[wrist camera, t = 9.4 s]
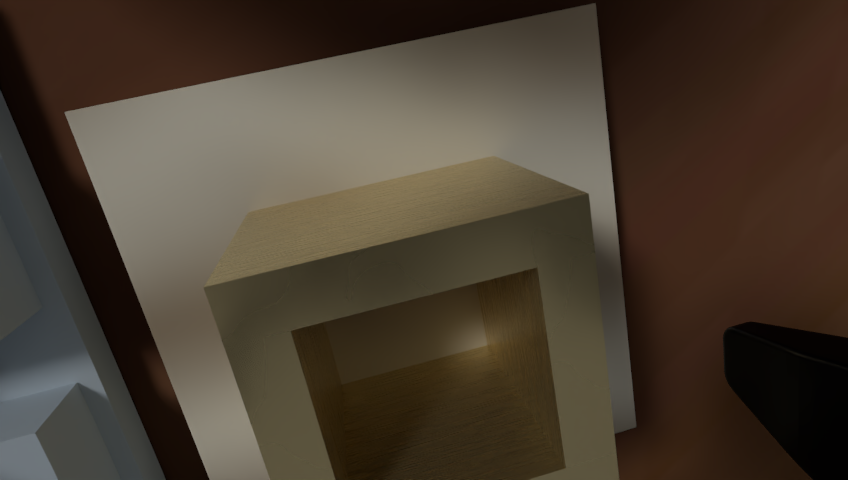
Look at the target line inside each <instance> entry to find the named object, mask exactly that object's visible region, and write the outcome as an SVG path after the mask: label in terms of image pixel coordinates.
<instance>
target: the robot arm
mask: <svg viewBox="0 0 848 480" xmlns="http://www.w3.org/2000/svg"><path fill="white" fill-rule="evenodd" d="M723 347H724V372H725V377H726V380H727V382H728V384H729V385H730V387H731V388H732V390H733V391H734V392H735V393H736V394H737V395H738V397H739V398H740V399H741V400H742V401H743V402H744V403H745V405H746V406H747V407H748V408H749V409H750V410H751V412H752V413H753V414H754V415H755V416H756V417H757V418H758V420H759V421H760V422H761V423H762V424H763V425H764V427H765V428H766V429H767V430H768V431H769V432H770V433H771V435H772V436H773V437H774V438H775V439H776V440H777V442H778V443H779V444H780V445H781V446H782V447H783V449H784V450H785V451H786V452H787V453H788V454H789V455H790V456H791V457H792V458H793V460H794V461H795V462H796V463H797V464H798V465H799V466H800V467H801V468H802V469H803V470H804V471H805V472H806V473H807V474H808V475H809V476H810V477H811V478H812V479H813V480H848V338H846V337H840V336H834V335H828V334H822V333H816V332H810V331H804V330H798V329H792V328H786V327H781V326H775V325H769V324H763V323H757V322H746V323H743V324H739V325H736V326H732V327H729V328H728V329H726V330H725V332H724V335H723Z"/></svg>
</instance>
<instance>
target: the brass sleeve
mask: <svg viewBox="0 0 848 480" xmlns="http://www.w3.org/2000/svg"><path fill="white" fill-rule="evenodd" d="M474 283H476V286H477V291H478V297H479V303H480V308H481V314H482V319H483V325H484V330H485V336H486V341H487V345H486V346H482V347H478V348H475V349H471V350H467V351H464V352H460V353H456V354H452V355H449V356H445V357H441V358H438V359H434V360H430V361H427V362H423V363H419V364H416V365H412V366H408V367H405V368H401V369H397V370H393V371H390V372H386V373H382V374H379V375H375V376H371V377H368V378H364V379H360V380H357V381H353V382H349V383H346V384H342V383H341V380H340V376H339V372H338V369H337V365H336V362H335V358H334V354H333V351H332V347H331V344H330V340H329V337H328V333H327V329H326V326H325V322H327V321H330V320H334V319H338V318H342V317H346V316H350V315H354V314H358V313H362V312H365V311H369V310H373V309H377V308H381V307H385V306H389V305H393V304H397V303H401V302H404V301H408V300H412V299H416V298H420V297H424V296H428V295H432V294H436V293H439V292H443V291H447V290H451V289H455V288H459V287H463V286H467V285H471V284H474ZM203 288H204V290H205V293H206V296H207V299H208V302H209V305H210V308H211V311H212V314H213V316H214V319H215V322H216V325H217V328H218V331H219V334H220V337H221V339H222V342H223V345H224V348H225V351H226V354H227V357H228V360H229V363H230V365H231V368H232V371H233V374H234V377H235V380H236V383H237V386H238V388H239V391H240V394H241V397H242V400H243V403H244V406H245V409H246V412H247V414H248V417H249V420H250V423H251V426H252V429H253V432H254V435H255V437H256V440H257V443H258V446H259V449H260V452H261V455H262V458H263V461H264V463H265V466H266V469H267V472H268V475H269V478H270V480H619V473H618V464H617V454H616V445H615V435H614V426H613V416H612V407H611V398H610V388H609V379H608V369H607V360H606V350H605V341H604V332H603V322H602V313H601V303H600V294H599V284H598V275H597V266H596V256H595V247H594V237H593V228H592V218H591V209H590V199H589V193H586V192H584V191H581V190H579V189H576V188H574V187H571V186H569V185H566V184H564V183H561V182H559V181H556V180H554V179H551V178H549V177H546V176H544V175H541V174H538V173H536V172H533V171H531V170H528V169H526V168H523V167H521V166H518V165H516V164H513V163H511V162H508V161H506V160H503V159H501V158H498V157H496V156H490V157H486V158H481V159H477V160H473V161H468V162H464V163H460V164H455V165H451V166H447V167H442V168H438V169H433V170H429V171H425V172H420V173H416V174H412V175H407V176H403V177H399V178H394V179H390V180H386V181H381V182H377V183H372V184H368V185H364V186H359V187H355V188H351V189H346V190H342V191H338V192H333V193H329V194H325V195H320V196H316V197H311V198H307V199H303V200H298V201H294V202H290V203H285V204H281V205H277V206H272V207H268V208H264V209H259V210H255V211H251V212H248V213H247V215H246V217H245V218H244V220H243V222H242V223H241V225H240V227H239V228H238V230H237V232H236V233H235V235H234V237H233V238H232V240H231V242H230V244H229V245H228V247H227V249H226V250H225V252H224V254H223V255H222V257H221V259H220V260H219V262H218V264H217V265H216V267H215V269H214V270H213V272H212V274H211V275H210V277H209V279H208V280H207V282H206V284H205V286H204V287H203Z"/></svg>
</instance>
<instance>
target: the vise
mask: <svg viewBox="0 0 848 480" xmlns="http://www.w3.org/2000/svg"><path fill="white" fill-rule="evenodd" d="M0 480H166V478H165V476H164V474H163V471H162V469H161V467H160V464H159V462H158V460H157V457H156V455H155V453H154V450H153V448H152V446H151V443H150V441H149V438H148V436H147V434H146V431H145V429H144V427H143V424H142V422H141V420H140V417H139V415H138V413H137V410H136V408H135V406H134V403H133V401H132V398H131V396H130V394H129V391H128V389H127V387H126V384H125V382H124V380H123V377H122V375H121V373H120V370H119V368H118V366H117V363H116V361H115V359H114V356H113V354H112V351H111V349H110V347H109V344H108V342H107V340H106V337H105V335H104V333H103V330H102V328H101V326H100V323H99V321H98V319H97V316H96V314H95V311H94V309H93V307H92V304H91V302H90V300H89V297H88V295H87V293H86V290H85V288H84V286H83V283H82V281H81V279H80V276H79V274H78V271H77V269H76V267H75V264H74V262H73V260H72V257H71V255H70V253H69V250H68V248H67V246H66V243H65V241H64V239H63V236H62V234H61V231H60V229H59V227H58V224H57V222H56V220H55V217H54V215H53V213H52V210H51V208H50V206H49V203H48V201H47V199H46V196H45V194H44V191H43V189H42V187H41V184H40V182H39V180H38V177H37V175H36V173H35V170H34V168H33V166H32V163H31V161H30V159H29V156H28V154H27V152H26V149H25V147H24V144H23V142H22V140H21V137H20V135H19V133H18V130H17V128H16V126H15V123H14V121H13V119H12V116H11V114H10V112H9V109H8V107H7V104H6V102H5V100H4V97H3V95H2V93H1V90H0Z"/></svg>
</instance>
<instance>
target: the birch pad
mask: <svg viewBox="0 0 848 480" xmlns="http://www.w3.org/2000/svg"><path fill="white" fill-rule="evenodd" d="M65 115H66V117H67V120H68V122H69V125H70V127H71V130H72V133H73V135H74V138H75V140H76V143H77V145H78V148H79V150H80V153H81V155H82V158H83V160H84V163H85V165H86V168H87V171H88V173H89V176H90V178H91V181H92V183H93V186H94V188H95V191H96V193H97V196H98V198H99V201H100V203H101V206H102V209H103V211H104V214H105V216H106V219H107V221H108V224H109V226H110V229H111V231H112V234H113V236H114V239H115V241H116V244H117V246H118V249H119V252H120V254H121V257H122V259H123V262H124V264H125V267H126V269H127V272H128V274H129V277H130V279H131V282H132V284H133V287H134V290H135V292H136V295H137V297H138V300H139V302H140V305H141V307H142V310H143V312H144V315H145V317H146V320H147V322H148V325H149V328H150V330H151V333H152V335H153V338H154V340H155V343H156V345H157V348H158V350H159V353H160V355H161V358H162V360H163V363H164V365H165V368H166V371H167V373H168V376H169V378H170V381H171V383H172V386H173V388H174V391H175V393H176V396H177V398H178V401H179V403H180V406H181V409H182V411H183V414H184V416H185V419H186V421H187V424H188V426H189V429H190V431H191V434H192V436H193V439H194V441H195V444H196V447H197V449H198V452H199V454H200V457H201V459H202V462H203V464H204V467H205V469H206V472H207V474H208V477H209V479H210V480H270V478H269V475H268V472H267V469H266V466H265V463H264V461H263V458H262V455H261V452H260V449H259V446H258V443H257V440H256V437H255V435H254V432H253V429H252V426H251V423H250V420H249V417H248V414H247V412H246V409H245V406H244V403H243V400H242V397H241V394H240V391H239V388H238V386H237V383H236V380H235V377H234V374H233V371H232V368H231V365H230V363H229V360H228V357H227V354H226V351H225V348H224V345H223V342H222V339H221V337H220V334H219V331H218V328H217V325H216V322H215V319H214V316H213V314H212V311H211V308H210V305H209V302H208V299H207V296H206V293H205V290H204V288H203V287H204V286H205V284H206V282H207V280H208V279H209V277H210V275H211V274H212V272H213V270H214V269H215V267H216V265H217V264H218V262H219V260H220V259H221V257H222V255H223V254H224V252H225V250H226V249H227V247H228V245H229V244H230V242H231V240H232V238H233V237H234V235H235V233H236V232H237V230H238V228H239V227H240V225H241V223H242V222H243V220H244V218H245V217H246V215H247V213H248V212H251V211H255V210H259V209H264V208H268V207H272V206H277V205H281V204H285V203H290V202H294V201H298V200H303V199H307V198H311V197H316V196H320V195H325V194H329V193H333V192H338V191H342V190H346V189H351V188H355V187H359V186H364V185H368V184H372V183H377V182H381V181H386V180H390V179H394V178H399V177H403V176H407V175H412V174H416V173H420V172H425V171H429V170H433V169H438V168H442V167H447V166H451V165H455V164H460V163H464V162H468V161H473V160H477V159H481V158H486V157H490V156H496V157H498V158H501V159H503V160H506V161H508V162H511V163H513V164H516V165H518V166H521V167H523V168H526V169H528V170H531V171H533V172H536V173H538V174H541V175H544V176H546V177H549V178H551V179H554V180H556V181H559V182H561V183H564V184H566V185H569V186H571V187H574V188H576V189H579V190H581V191H584V192H586V193H589V199H590V209H591V218H592V228H593V237H594V247H595V256H596V266H597V275H598V284H599V294H600V303H601V313H602V322H603V332H604V341H605V350H606V360H607V369H608V379H609V388H610V398H611V407H612V416H613V426H614V434H615V433H619V432H622V431H625V430H629V429H632V428H635V427H636V418H635V407H634V397H633V386H632V376H631V366H630V355H629V345H628V334H627V324H626V314H625V303H624V293H623V282H622V272H621V261H620V251H619V241H618V230H617V220H616V209H615V199H614V189H613V178H612V168H611V157H610V147H609V136H608V126H607V116H606V105H605V95H604V84H603V74H602V64H601V53H600V43H599V32H598V22H597V11H596V3H593V4H588V5H583V6H579V7H574V8H569V9H564V10H559V11H554V12H549V13H545V14H540V15H535V16H530V17H525V18H520V19H515V20H510V21H506V22H501V23H496V24H491V25H486V26H481V27H476V28H472V29H467V30H462V31H457V32H452V33H447V34H442V35H438V36H433V37H428V38H423V39H418V40H413V41H408V42H403V43H399V44H394V45H389V46H384V47H379V48H374V49H369V50H365V51H360V52H355V53H350V54H345V55H340V56H335V57H330V58H326V59H321V60H316V61H311V62H306V63H301V64H296V65H292V66H287V67H282V68H277V69H272V70H267V71H262V72H257V73H253V74H248V75H243V76H238V77H233V78H228V79H223V80H219V81H214V82H209V83H204V84H199V85H194V86H189V87H184V88H180V89H175V90H170V91H165V92H160V93H155V94H150V95H146V96H141V97H136V98H131V99H126V100H121V101H116V102H111V103H107V104H102V105H97V106H92V107H87V108H82V109H77V110H73V111H68V112H65ZM325 326H326V329H327V333H328V337H329V340H330V344H331V347H332V351H333V354H334V358H335V362H336V365H337V369H338V372H339V376H340V380H341V383H342V384H346V383H349V382H353V381H357V380H360V379H364V378H368V377H371V376H375V375H379V374H382V373H386V372H390V371H393V370H397V369H401V368H405V367H408V366H412V365H416V364H419V363H423V362H427V361H430V360H434V359H438V358H441V357H445V356H449V355H452V354H456V353H460V352H464V351H467V350H471V349H475V348H478V347H482V346H486V345H487V341H486V336H485V330H484V325H483V319H482V314H481V308H480V303H479V297H478V291H477V286H476V283H474V284H471V285H467V286H463V287H459V288H455V289H451V290H447V291H443V292H439V293H436V294H432V295H428V296H424V297H420V298H416V299H412V300H408V301H404V302H401V303H397V304H393V305H389V306H385V307H381V308H377V309H373V310H369V311H365V312H362V313H358V314H354V315H350V316H346V317H342V318H338V319H334V320H330V321H327V322H325Z"/></svg>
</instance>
